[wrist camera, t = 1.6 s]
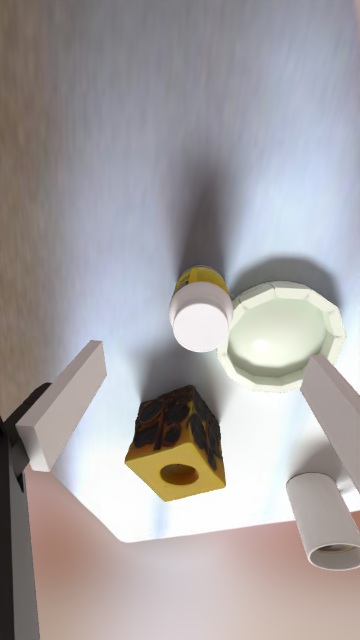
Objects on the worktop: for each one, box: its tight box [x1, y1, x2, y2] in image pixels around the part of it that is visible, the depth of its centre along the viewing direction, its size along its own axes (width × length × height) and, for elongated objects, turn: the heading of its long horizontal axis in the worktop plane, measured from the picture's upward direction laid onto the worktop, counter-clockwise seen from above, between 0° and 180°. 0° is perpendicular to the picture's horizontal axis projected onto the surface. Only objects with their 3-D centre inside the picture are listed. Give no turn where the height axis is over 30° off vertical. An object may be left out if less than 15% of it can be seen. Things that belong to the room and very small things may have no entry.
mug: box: [286, 473, 360, 571], centre depth 39 cm, size 11×10×10 cm
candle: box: [125, 385, 226, 502], centre depth 34 cm, size 10×10×10 cm
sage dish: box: [216, 281, 346, 393], centre depth 29 cm, size 15×15×3 cm
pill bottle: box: [169, 265, 233, 352], centre depth 24 cm, size 6×6×11 cm
